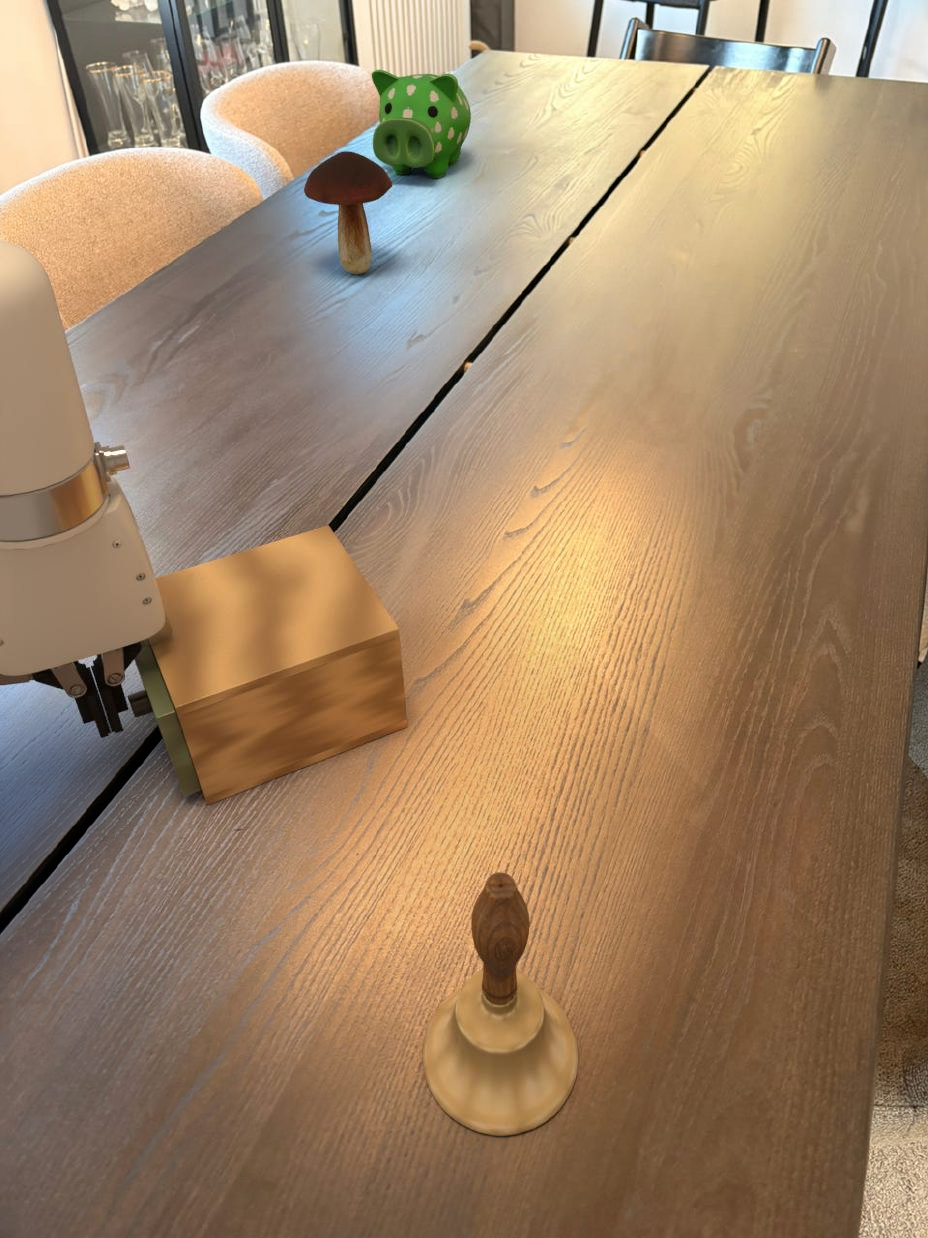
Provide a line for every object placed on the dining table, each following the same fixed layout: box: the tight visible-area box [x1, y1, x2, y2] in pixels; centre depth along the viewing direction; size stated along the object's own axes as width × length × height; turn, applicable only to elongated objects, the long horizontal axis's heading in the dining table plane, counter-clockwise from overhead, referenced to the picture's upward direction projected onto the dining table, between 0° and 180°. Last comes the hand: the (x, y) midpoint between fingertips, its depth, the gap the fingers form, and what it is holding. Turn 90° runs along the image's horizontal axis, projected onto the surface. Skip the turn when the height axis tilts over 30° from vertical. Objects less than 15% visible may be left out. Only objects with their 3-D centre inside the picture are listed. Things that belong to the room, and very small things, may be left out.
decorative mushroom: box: [303, 150, 393, 275], centre depth 122 cm, size 11×11×15 cm
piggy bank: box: [371, 69, 472, 179], centre depth 152 cm, size 14×18×15 cm
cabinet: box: [150, 524, 408, 806], centre depth 66 cm, size 15×13×10 cm
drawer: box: [127, 646, 202, 798], centre depth 66 cm, size 15×11×8 cm
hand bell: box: [421, 871, 580, 1137], centre depth 45 cm, size 8×8×16 cm
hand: (108, 720), depth 63 cm, fingers closed
